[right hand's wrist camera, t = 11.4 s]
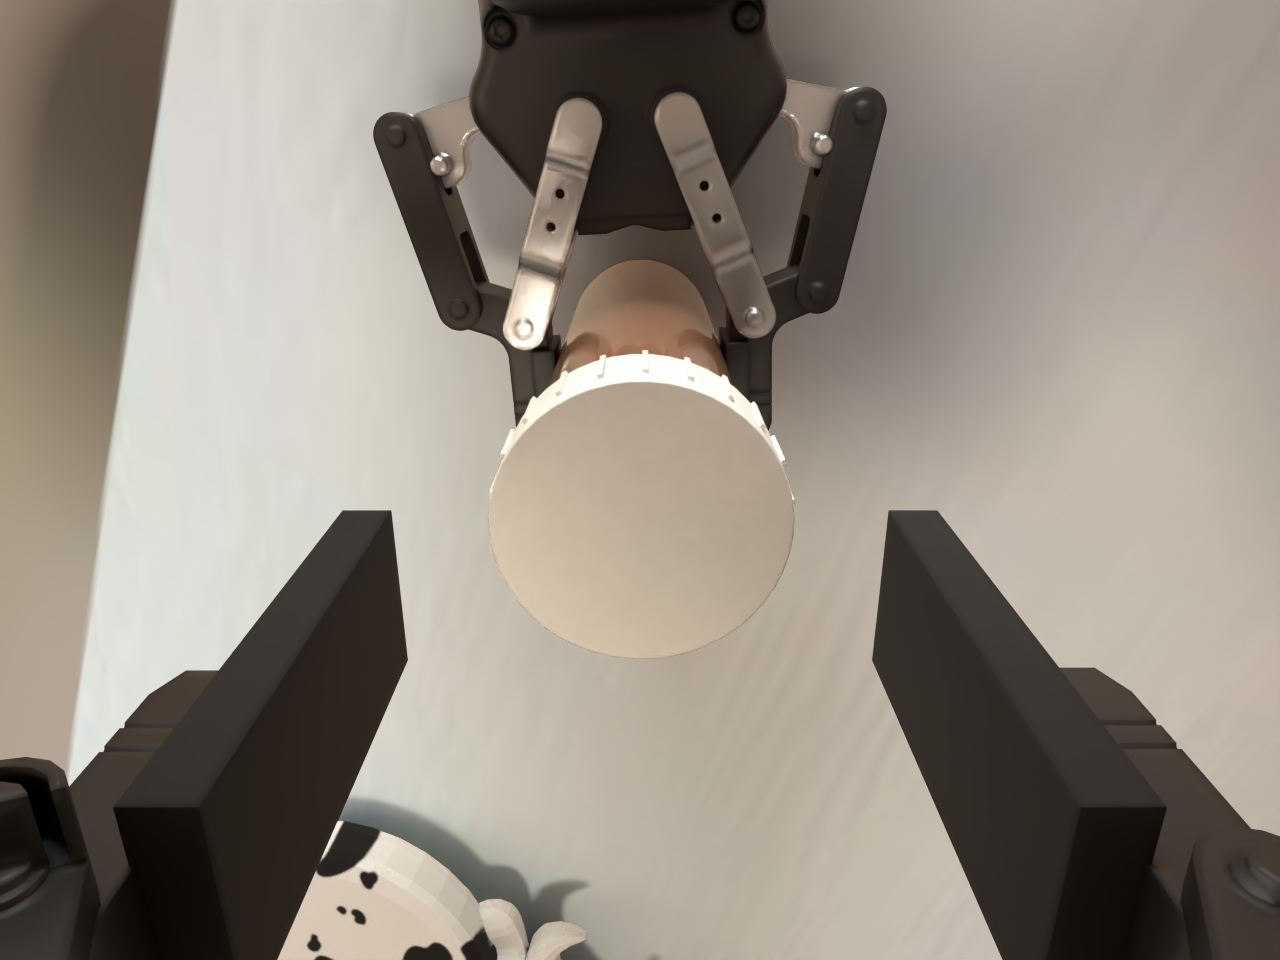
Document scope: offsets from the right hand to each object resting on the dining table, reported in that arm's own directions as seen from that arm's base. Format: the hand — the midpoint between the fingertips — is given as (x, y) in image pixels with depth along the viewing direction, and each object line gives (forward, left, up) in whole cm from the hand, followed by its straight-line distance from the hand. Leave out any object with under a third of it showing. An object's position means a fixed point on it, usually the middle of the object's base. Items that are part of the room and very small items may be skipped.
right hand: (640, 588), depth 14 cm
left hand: (-3, -1, -14) cm, 14 cm away
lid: (0, 0, -3) cm, 3 cm away
